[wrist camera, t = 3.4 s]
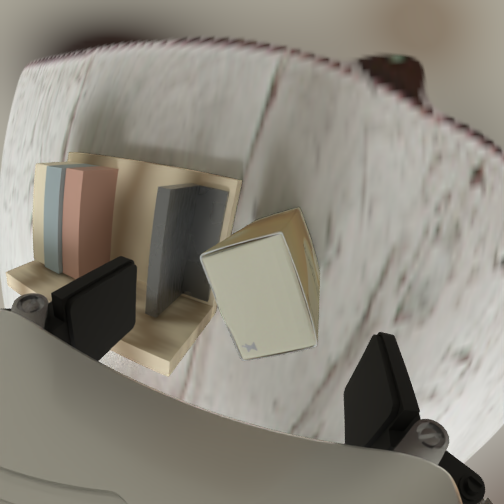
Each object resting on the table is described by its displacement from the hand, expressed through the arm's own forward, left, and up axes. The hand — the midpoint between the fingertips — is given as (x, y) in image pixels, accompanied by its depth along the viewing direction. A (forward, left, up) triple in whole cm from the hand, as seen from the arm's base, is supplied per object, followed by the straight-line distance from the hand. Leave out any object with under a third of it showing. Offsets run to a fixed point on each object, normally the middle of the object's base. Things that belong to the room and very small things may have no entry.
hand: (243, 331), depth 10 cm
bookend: (+7, +2, -14) cm, 16 cm away
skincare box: (0, +1, -16) cm, 16 cm away
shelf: (+15, +3, -15) cm, 21 cm away
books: (+20, +2, -14) cm, 25 cm away
